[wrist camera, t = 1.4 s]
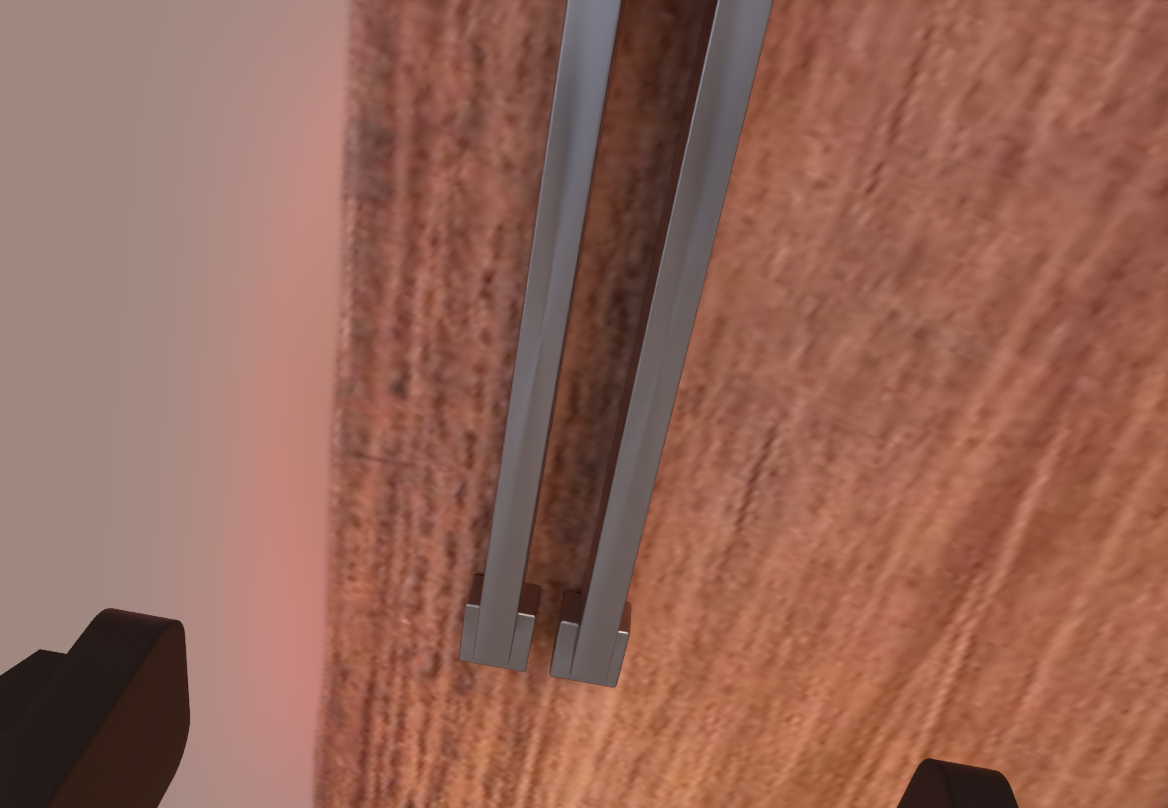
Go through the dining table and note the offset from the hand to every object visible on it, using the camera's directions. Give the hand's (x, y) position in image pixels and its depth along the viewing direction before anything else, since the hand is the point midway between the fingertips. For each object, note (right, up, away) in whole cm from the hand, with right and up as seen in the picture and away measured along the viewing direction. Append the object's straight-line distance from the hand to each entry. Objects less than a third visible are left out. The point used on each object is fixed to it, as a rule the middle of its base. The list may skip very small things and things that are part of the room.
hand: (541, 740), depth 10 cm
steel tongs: (+1, +6, +10) cm, 12 cm away
